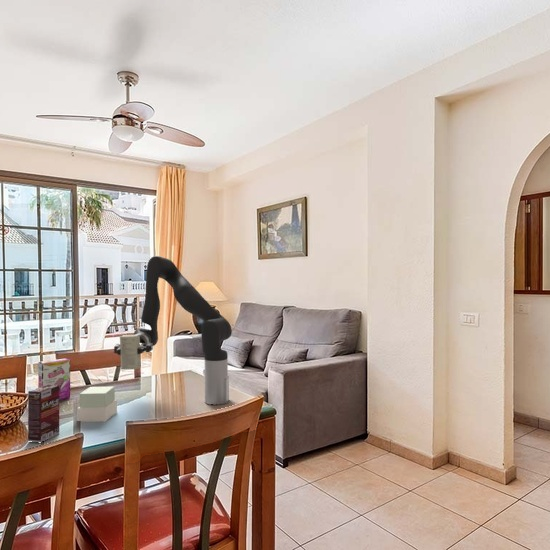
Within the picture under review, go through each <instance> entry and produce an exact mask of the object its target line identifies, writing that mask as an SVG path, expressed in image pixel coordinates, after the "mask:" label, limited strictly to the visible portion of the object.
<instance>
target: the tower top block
mask: <svg viewBox="0 0 550 550" xmlns="http://www.w3.org/2000/svg"><path fill="white" fill-rule="evenodd" d="M115 389H116V388H115V386H114V385H113V386H90V387H88V388H86V389H85V390H83V391H82V392H80V393H79V407H80V408H98V407H107V406H108V405H109V404H110V403H111V402H113V401H114V400H116V399H115V398H116V397H115V396H116V393H115V392H116V391H115Z"/></svg>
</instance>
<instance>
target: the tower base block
mask: <svg viewBox="0 0 550 550" xmlns="http://www.w3.org/2000/svg"><path fill="white" fill-rule="evenodd" d="M116 412H117V413H118V399H115V400H114V401H113V402H111V403H110V404H109V405H108V406H107V407H98V408H80V406H78V407H77V412H76V415H77V416H76V418H77V421H81V422H107V421H108V420H109V419H111V416H112V417H113V416H115V414H116Z"/></svg>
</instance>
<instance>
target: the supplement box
mask: <svg viewBox="0 0 550 550" xmlns="http://www.w3.org/2000/svg"><path fill="white" fill-rule="evenodd" d="M27 393H28V394H27V398H28V400H27V402H28V403H27V405H28V406H27V408H28V409H27V411H28V412H27V413H28V414H27V418H28V419H27V421H28V422H27V424H28V425H27V426H28V427H27V442H28V441H32V442H42V441H44V442H45V440H46V441H47V439H48V440H49V439H51V438H53V437H55V436H57V435H59V434H60V400H59V385H46V386H43V387H40V388H34V389H32V390H29V391H28V392H27ZM42 443H43V442H42Z"/></svg>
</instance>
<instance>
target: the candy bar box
mask: <svg viewBox="0 0 550 550" xmlns="http://www.w3.org/2000/svg"><path fill="white" fill-rule="evenodd" d="M37 367H38V369H37V370H38V372H37V374H38V376H37V378H38V385H37V386H38V388H40V387H43V386H46V385H59V401H61V400H67V399H71V359H70V358H60V359H52V360H51V359H50V360H42V361H38V363H37Z"/></svg>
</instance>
